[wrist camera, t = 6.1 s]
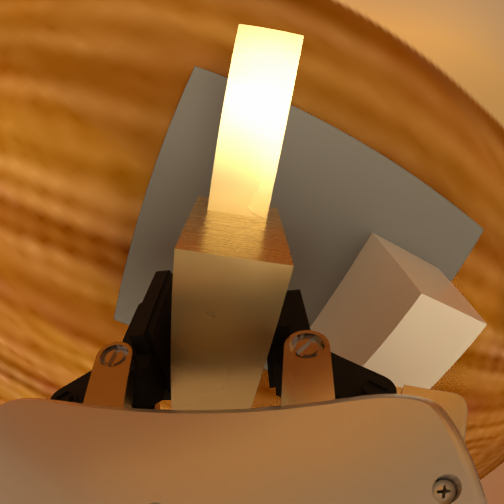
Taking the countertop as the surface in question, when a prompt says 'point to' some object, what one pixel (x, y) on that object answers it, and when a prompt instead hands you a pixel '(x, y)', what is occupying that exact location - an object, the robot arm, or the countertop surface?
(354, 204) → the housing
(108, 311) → the countertop surface
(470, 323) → the cream rectangular block
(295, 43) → the key
